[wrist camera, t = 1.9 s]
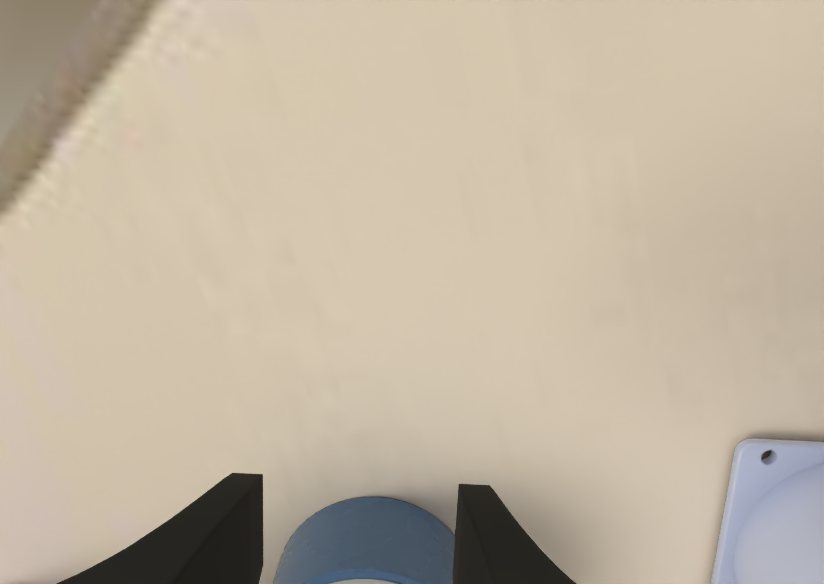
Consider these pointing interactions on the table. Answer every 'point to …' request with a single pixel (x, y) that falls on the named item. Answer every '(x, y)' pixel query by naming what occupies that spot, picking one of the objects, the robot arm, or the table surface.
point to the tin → (369, 546)
